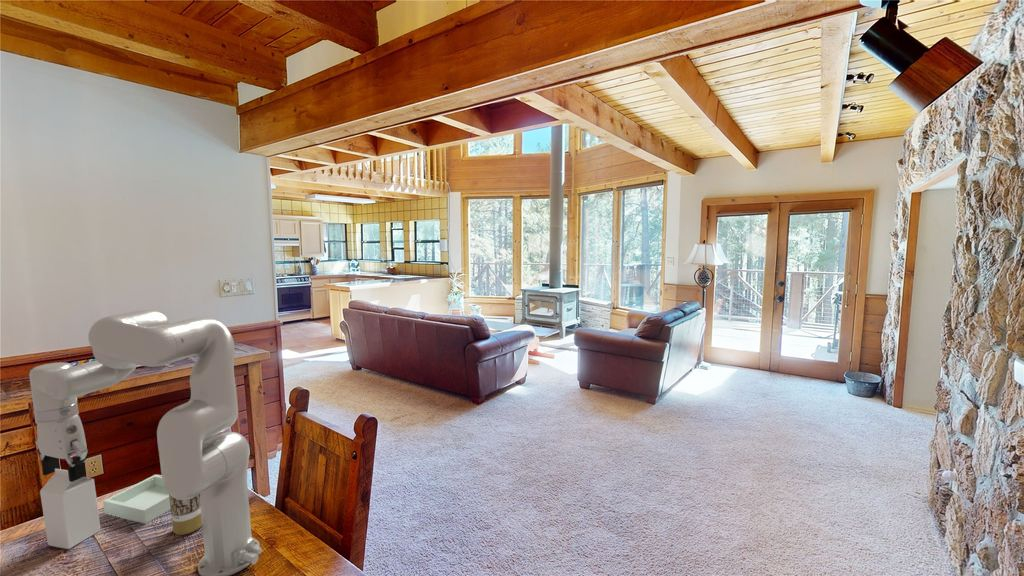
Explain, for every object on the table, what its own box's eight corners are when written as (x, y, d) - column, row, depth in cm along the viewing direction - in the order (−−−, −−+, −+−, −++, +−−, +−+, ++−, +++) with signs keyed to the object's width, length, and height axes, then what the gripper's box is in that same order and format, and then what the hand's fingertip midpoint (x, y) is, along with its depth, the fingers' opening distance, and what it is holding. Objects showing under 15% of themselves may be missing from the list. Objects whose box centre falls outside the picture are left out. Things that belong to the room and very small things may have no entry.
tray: (195, 494, 130) (194, 482, 130) (146, 523, 117) (144, 510, 116) (157, 486, 135) (155, 474, 134) (104, 513, 121) (103, 500, 121)
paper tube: (184, 538, 111) (175, 448, 108) (167, 533, 113) (157, 444, 110) (210, 522, 118) (202, 436, 114) (193, 517, 120) (184, 433, 117)
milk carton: (69, 549, 107) (59, 479, 105) (47, 545, 109) (37, 476, 106) (101, 530, 114) (92, 464, 112) (80, 527, 116) (71, 461, 113)
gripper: (99, 410, 109) (105, 473, 111) (52, 402, 113) (60, 462, 115) (61, 423, 101) (69, 489, 104) (13, 413, 106) (22, 477, 108)
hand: (64, 475), depth 109 cm, fingers open, 9 cm apart
